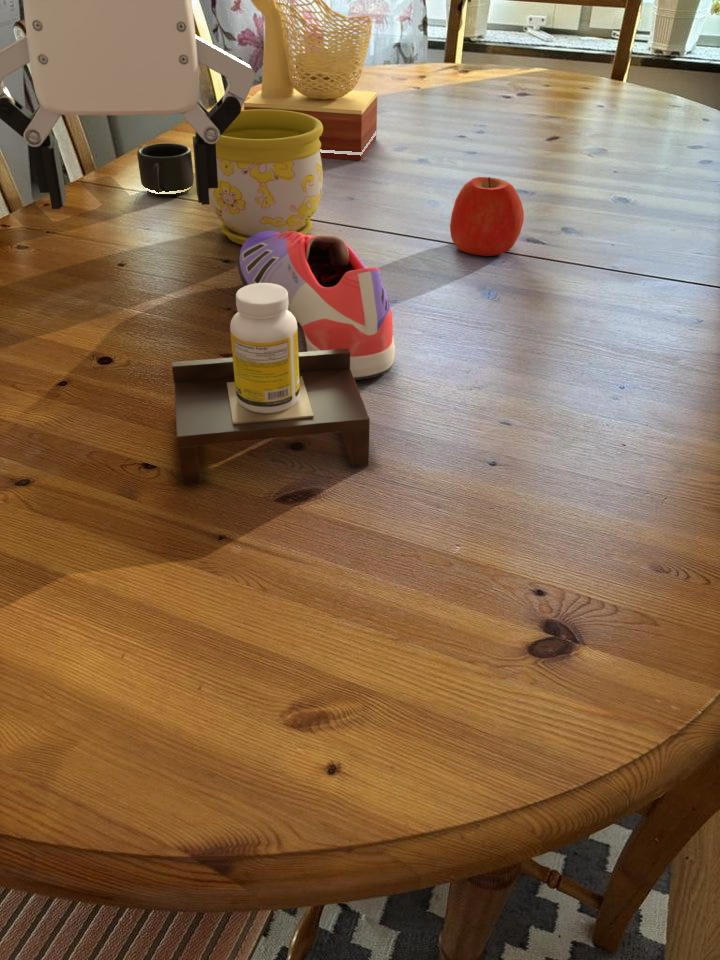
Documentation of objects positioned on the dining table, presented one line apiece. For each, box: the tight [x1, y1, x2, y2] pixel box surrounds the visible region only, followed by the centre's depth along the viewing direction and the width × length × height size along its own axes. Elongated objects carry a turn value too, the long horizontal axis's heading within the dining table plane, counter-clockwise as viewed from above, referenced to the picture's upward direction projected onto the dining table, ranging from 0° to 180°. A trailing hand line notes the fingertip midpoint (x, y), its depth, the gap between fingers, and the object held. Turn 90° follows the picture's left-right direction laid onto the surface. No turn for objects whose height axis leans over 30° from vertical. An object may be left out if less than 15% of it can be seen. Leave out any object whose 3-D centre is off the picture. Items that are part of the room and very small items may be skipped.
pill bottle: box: [229, 283, 300, 413], centre depth 80 cm, size 6×6×11 cm
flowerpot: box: [208, 109, 324, 246], centre depth 130 cm, size 18×18×16 cm
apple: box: [449, 176, 525, 257], centre depth 128 cm, size 11×11×11 cm
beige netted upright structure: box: [243, 0, 378, 162], centre depth 166 cm, size 25×18×35 cm
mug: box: [136, 142, 195, 198], centre depth 147 cm, size 12×9×7 cm
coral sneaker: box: [237, 231, 396, 381], centre depth 106 cm, size 12×36×13 cm, turn 24°
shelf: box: [171, 348, 371, 486], centre depth 85 cm, size 18×11×7 cm, turn 101°
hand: (132, 200), depth 59 cm, fingers open, 9 cm apart
